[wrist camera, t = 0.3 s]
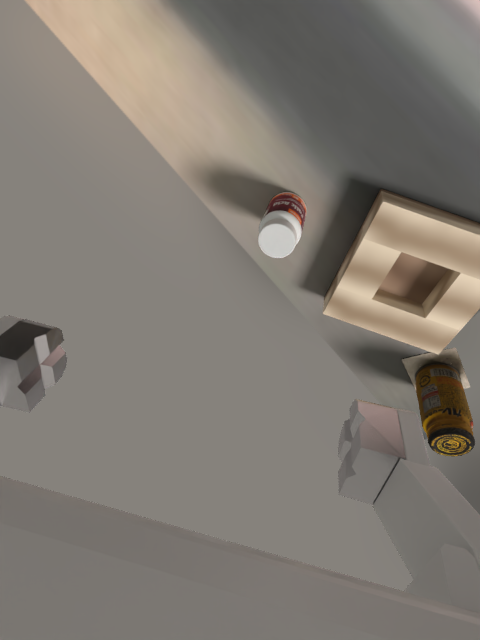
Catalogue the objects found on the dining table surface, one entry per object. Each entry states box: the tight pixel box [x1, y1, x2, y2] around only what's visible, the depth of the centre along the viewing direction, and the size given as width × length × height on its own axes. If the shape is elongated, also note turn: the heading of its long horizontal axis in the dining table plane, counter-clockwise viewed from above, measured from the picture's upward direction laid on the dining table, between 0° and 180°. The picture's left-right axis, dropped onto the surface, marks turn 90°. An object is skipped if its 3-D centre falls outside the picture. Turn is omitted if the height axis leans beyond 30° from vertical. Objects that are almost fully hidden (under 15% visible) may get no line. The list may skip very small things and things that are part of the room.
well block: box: [323, 189, 480, 355], centre depth 46 cm, size 16×16×4 cm
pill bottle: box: [258, 192, 306, 258], centre depth 43 cm, size 5×5×8 cm
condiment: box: [401, 348, 475, 456], centre depth 52 cm, size 7×8×12 cm
